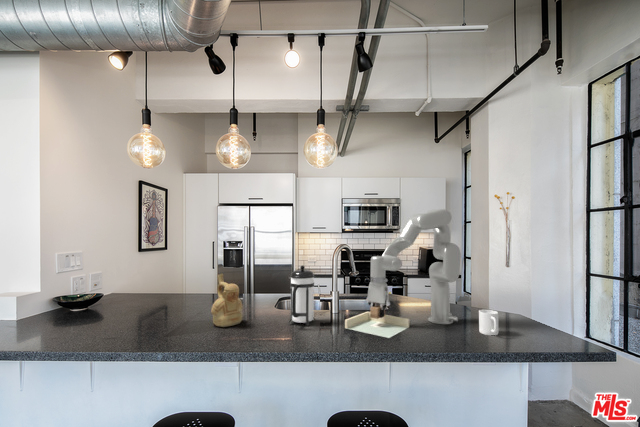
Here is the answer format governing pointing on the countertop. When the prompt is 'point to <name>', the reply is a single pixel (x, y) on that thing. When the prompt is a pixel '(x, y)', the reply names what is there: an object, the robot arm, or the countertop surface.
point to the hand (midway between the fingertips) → (377, 316)
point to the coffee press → (302, 296)
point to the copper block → (375, 312)
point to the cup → (488, 322)
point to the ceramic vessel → (227, 305)
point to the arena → (377, 324)
